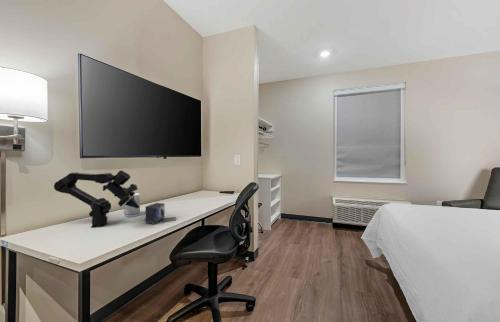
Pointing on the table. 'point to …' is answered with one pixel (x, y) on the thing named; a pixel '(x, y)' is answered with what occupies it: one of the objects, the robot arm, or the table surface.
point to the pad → (169, 219)
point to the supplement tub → (130, 210)
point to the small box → (155, 213)
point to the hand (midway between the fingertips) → (138, 207)
